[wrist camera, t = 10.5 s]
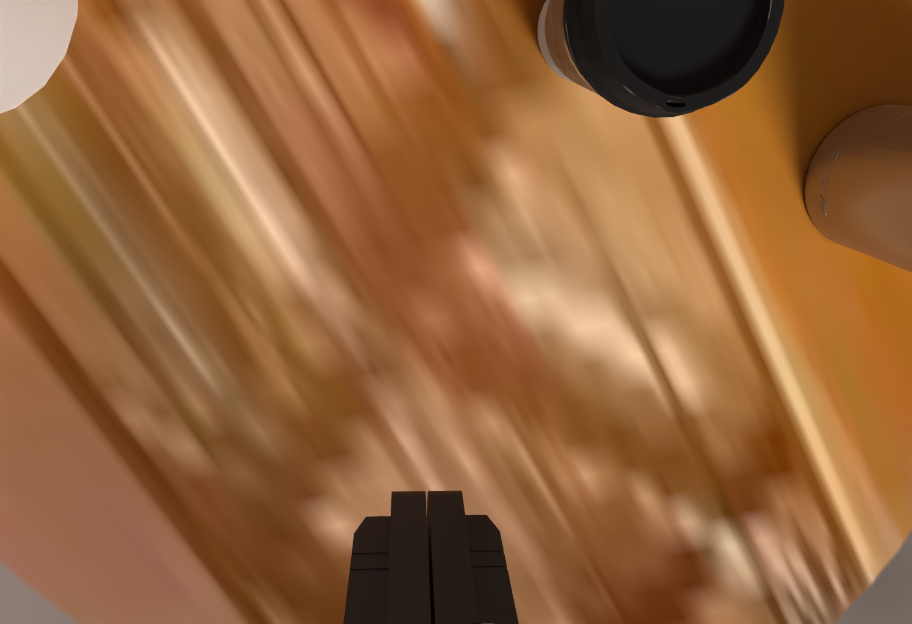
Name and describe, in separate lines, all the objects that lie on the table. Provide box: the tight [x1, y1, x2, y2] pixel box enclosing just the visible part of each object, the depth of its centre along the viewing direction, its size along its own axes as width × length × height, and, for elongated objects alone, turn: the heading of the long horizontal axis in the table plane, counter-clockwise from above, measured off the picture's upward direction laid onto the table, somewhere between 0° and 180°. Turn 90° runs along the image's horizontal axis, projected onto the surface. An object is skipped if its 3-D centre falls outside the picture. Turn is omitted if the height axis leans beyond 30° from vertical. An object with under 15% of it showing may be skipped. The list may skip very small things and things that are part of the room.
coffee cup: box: [538, 0, 784, 118], centre depth 30 cm, size 8×8×15 cm
